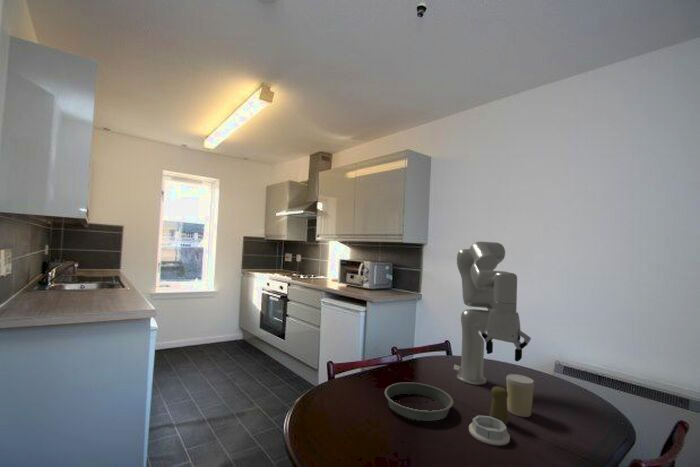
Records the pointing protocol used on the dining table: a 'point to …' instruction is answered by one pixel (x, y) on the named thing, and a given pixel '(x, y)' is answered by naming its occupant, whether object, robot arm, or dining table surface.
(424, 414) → the cake pan
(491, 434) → the ring holder
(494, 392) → the olive tapered block
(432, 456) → the dining table surface
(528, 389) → the cream upright cylinder
